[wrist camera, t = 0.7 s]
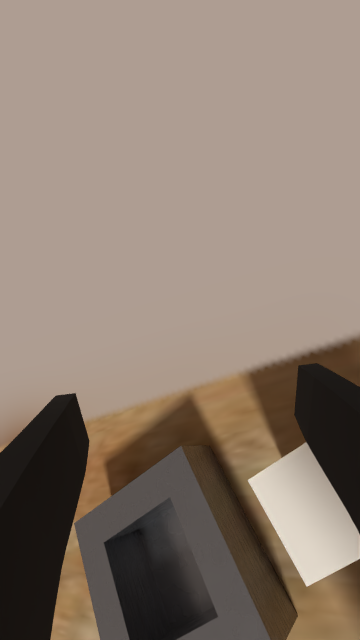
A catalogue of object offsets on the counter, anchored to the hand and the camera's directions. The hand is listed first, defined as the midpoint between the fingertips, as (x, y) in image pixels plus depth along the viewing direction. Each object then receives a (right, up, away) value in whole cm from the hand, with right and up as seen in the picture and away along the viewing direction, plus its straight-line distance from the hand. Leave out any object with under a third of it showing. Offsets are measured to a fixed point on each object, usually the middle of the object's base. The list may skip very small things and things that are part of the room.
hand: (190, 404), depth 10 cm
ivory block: (+10, -8, +10) cm, 16 cm away
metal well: (0, -15, +13) cm, 20 cm away
